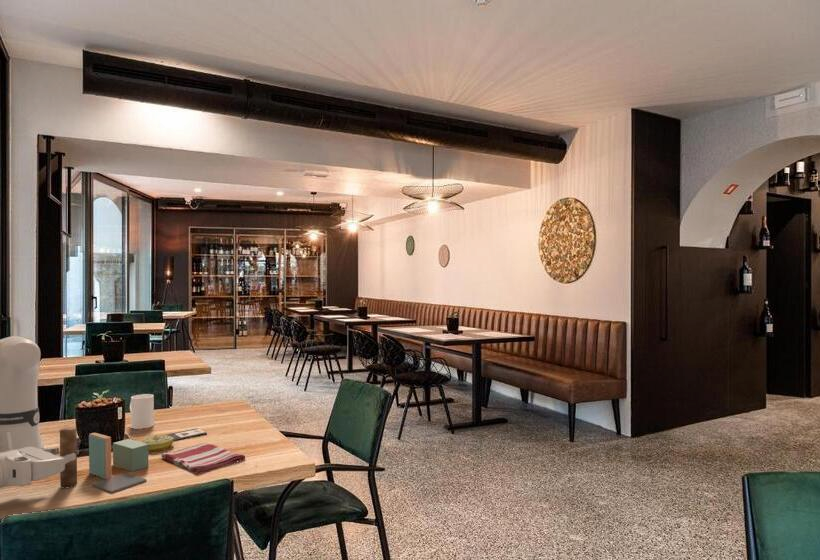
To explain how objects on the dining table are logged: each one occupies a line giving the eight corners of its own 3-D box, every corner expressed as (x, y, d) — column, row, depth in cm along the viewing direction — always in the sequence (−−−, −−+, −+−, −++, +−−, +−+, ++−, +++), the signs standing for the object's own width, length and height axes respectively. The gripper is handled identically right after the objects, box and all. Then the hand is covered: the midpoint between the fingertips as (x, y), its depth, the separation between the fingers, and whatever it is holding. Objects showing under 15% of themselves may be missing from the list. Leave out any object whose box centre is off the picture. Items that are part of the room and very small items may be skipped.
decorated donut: (172, 441, 192) (172, 431, 192) (174, 450, 182) (174, 439, 182) (140, 446, 187) (140, 435, 187) (140, 455, 178) (140, 443, 178)
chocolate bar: (147, 438, 194) (197, 428, 207) (147, 440, 194) (197, 430, 207) (156, 443, 188) (206, 432, 200) (156, 446, 188) (206, 435, 200)
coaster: (111, 493, 146) (111, 491, 146) (92, 485, 151) (92, 483, 151) (146, 481, 154) (146, 479, 154) (127, 474, 160) (127, 472, 160)
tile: (104, 479, 156) (104, 438, 156) (88, 473, 161) (88, 434, 161) (111, 477, 157) (111, 437, 157) (95, 471, 162) (94, 432, 162)
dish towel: (196, 476, 159) (196, 467, 159) (159, 459, 174) (159, 451, 174) (246, 461, 172) (246, 453, 172) (207, 447, 187) (207, 439, 187)
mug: (121, 426, 212) (121, 396, 212) (142, 421, 220) (142, 392, 220) (138, 430, 206) (137, 399, 206) (158, 425, 213) (158, 395, 213)
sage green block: (132, 471, 162) (132, 448, 162) (113, 465, 168) (112, 442, 168) (148, 466, 166) (148, 444, 166) (128, 460, 172) (128, 438, 172)
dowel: (57, 488, 149) (57, 431, 149) (64, 483, 153) (63, 427, 153) (73, 487, 150) (72, 430, 150) (79, 482, 154) (78, 426, 154)
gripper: (-8, 472, 145) (48, 457, 157) (27, 487, 134) (84, 470, 146) (-8, 449, 145) (48, 436, 156) (26, 462, 134) (84, 447, 146)
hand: (66, 453), depth 151 cm, fingers open, 8 cm apart
